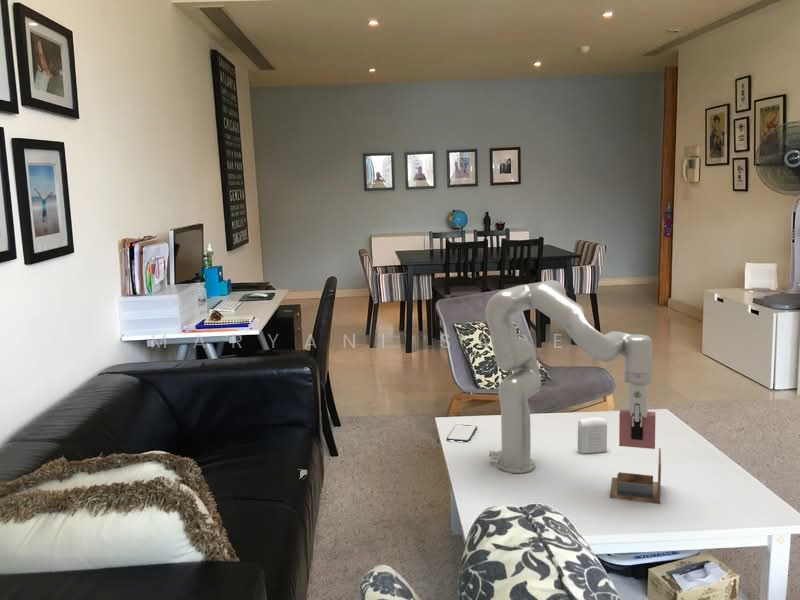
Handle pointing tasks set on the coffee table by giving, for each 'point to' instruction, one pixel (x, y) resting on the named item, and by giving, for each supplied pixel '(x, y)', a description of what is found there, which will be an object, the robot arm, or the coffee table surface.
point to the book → (625, 430)
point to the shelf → (641, 480)
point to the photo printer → (592, 435)
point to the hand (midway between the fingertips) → (637, 436)
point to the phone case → (462, 433)
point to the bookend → (635, 490)
